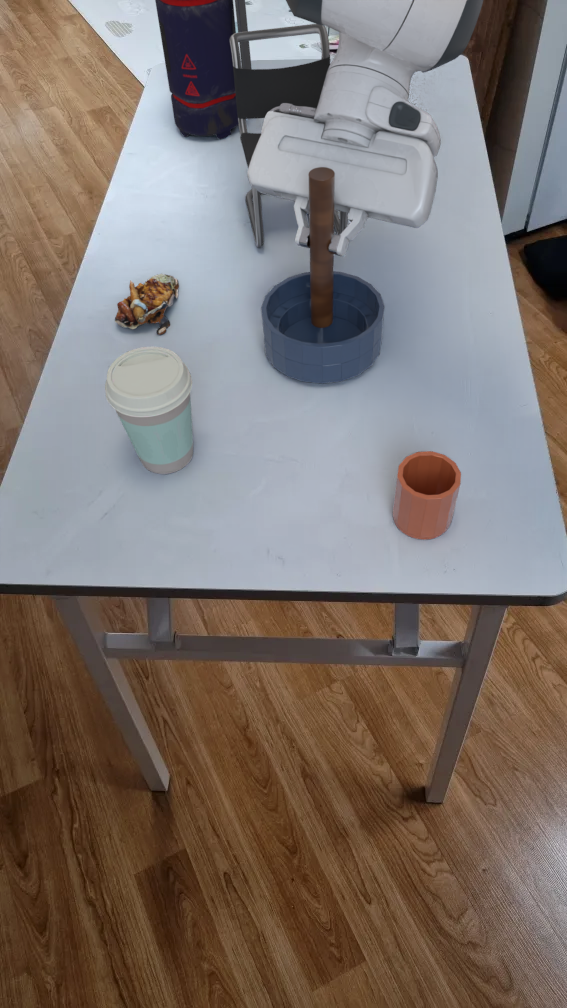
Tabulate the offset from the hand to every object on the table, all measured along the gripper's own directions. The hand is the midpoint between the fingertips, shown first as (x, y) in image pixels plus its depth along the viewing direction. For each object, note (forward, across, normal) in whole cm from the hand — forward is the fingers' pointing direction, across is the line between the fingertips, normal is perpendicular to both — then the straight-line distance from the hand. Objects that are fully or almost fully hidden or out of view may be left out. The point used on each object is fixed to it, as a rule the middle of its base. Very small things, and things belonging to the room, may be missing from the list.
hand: (319, 250), depth 77 cm
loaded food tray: (+11, -24, +9) cm, 28 cm away
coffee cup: (+26, -8, -6) cm, 28 cm away
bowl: (+9, 0, +10) cm, 14 cm away
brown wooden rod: (+6, 0, +7) cm, 10 cm away
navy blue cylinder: (-23, -42, +43) cm, 64 cm away
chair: (-8, -16, +28) cm, 33 cm away
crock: (+23, +20, -4) cm, 31 cm away
